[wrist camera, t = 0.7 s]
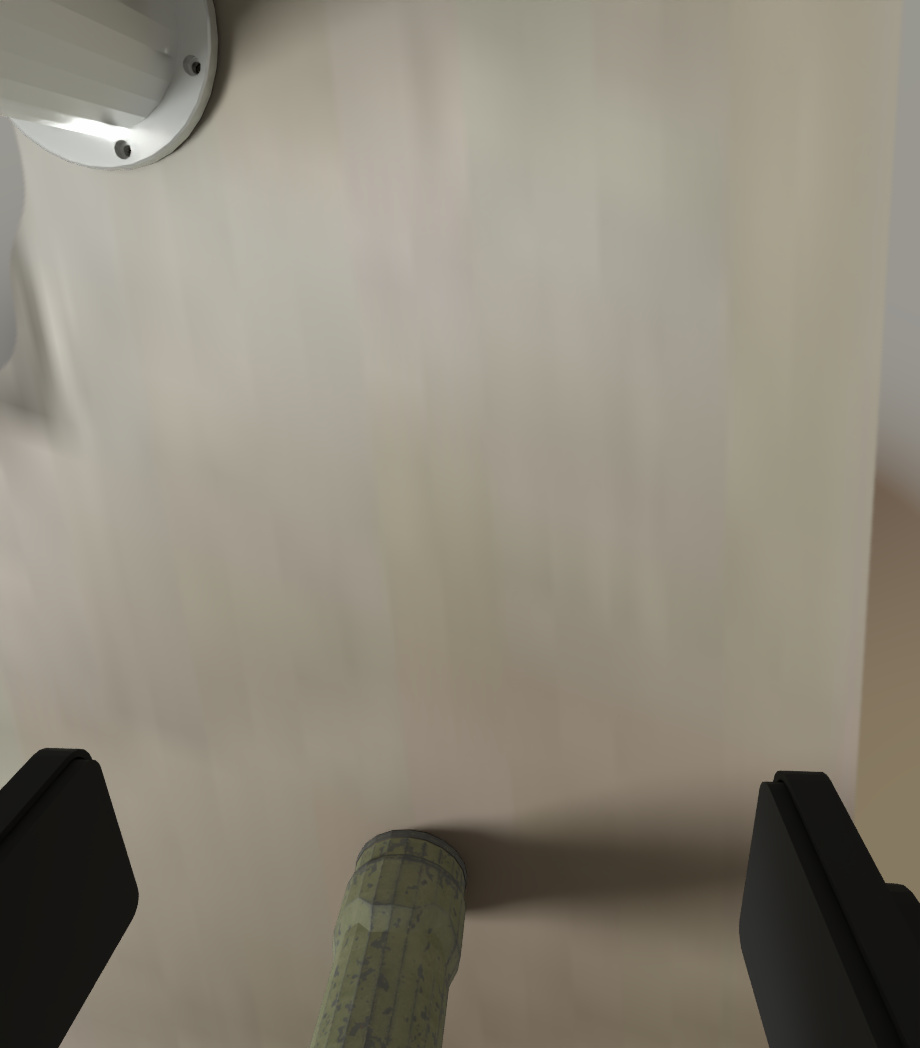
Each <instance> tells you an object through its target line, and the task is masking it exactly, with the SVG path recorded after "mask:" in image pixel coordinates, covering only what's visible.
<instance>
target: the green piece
mask: <svg viewBox="0 0 920 1048" xmlns="http://www.w3.org/2000/svg"><path fill="white" fill-rule="evenodd" d="M466 882H467V874H466V869H465V864H464V862H463V861H462V859H461V858H460V856H459V855H458V853H457V852H456V851H455V850H454V849H453V848H452V847H451V846H449V845H448V844H447V843H446V842H444V841H443V840H441V839H439V838H437V837H434V836H432V835H430V834H428V833H423V832H418V831H413V830H395V831H389V832H386V833H383V834H380V835H377V836H376V837H374V838H373V839H371V840H370V841H369V842H367V843H366V844H365V845H364V847H363V848H362V850H361V852H360V853H359V855H358V858H357V862H356V869H355V872H354V875H353V876H352V878H351V879H350V881H349V883H348V885H347V889H346V892H345V895H344V899H343V902H342V906H341V909H340V913H339V916H338V919H337V923H336V926H335V930H334V935H333V945H332V946H333V959H334V963H333V966H332V970H331V973H330V977H329V980H328V984H327V988H326V991H325V995H324V998H323V1002H322V1005H321V1009H320V1013H319V1016H318V1020H317V1023H316V1027H315V1030H314V1034H313V1038H312V1041H311V1045H310V1048H442V1041H443V1033H444V1024H445V1016H446V1007H447V999H448V991H449V986H450V984H451V982H452V980H453V978H454V976H455V975H456V973H457V971H458V966H459V962H460V957H461V948H462V939H463V930H464V920H465V911H466V904H465V900H464V892H465V888H466Z"/></svg>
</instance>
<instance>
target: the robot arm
mask: <svg viewBox="0 0 920 1048" xmlns="http://www.w3.org/2000/svg"><path fill="white" fill-rule="evenodd" d="M217 52H218V34H217V25H216V15H215V8H214V5H213V1H212V0H0V116H5V117H7V118H8V119H9V120H10V121H11V122H12V123H13V124H14V125H15V126H16V127H17V128H18V129H19V130H20V131H21V132H22V133H23V134H24V135H25V136H26V137H28V138H29V139H30V140H32V141H33V142H35V143H36V144H37V145H39V146H40V147H41V148H43V149H44V150H45V151H47V152H49V153H51V154H53V155H55V156H57V157H59V158H61V159H63V160H65V161H67V162H70V163H74V164H77V165H81V166H85V167H88V168H93V169H101V170H109V171H114V170H132V169H136V168H139V167H142V166H146V165H149V164H153V163H154V162H156V161H158V160H160V159H161V158H163V157H165V156H167V155H168V154H170V153H172V152H173V151H174V150H175V149H176V148H177V147H178V146H179V145H180V144H181V143H182V142H183V141H184V140H185V139H186V138H188V136H189V135H190V133H191V132H192V130H193V129H194V127H195V126H196V124H197V123H198V122H199V120H200V119H201V117H202V114H203V112H204V110H205V107H206V105H207V102H208V100H209V98H210V95H211V91H212V87H213V82H214V78H215V74H216V69H217ZM199 63H200V64H201V70H200V72H199V74H197V72H196V66H197V65H198V64H199ZM129 147H131V155H129V153H128V149H129ZM138 898H139V893H138V887H137V884H136V881H135V878H134V874H133V871H132V868H131V864H130V861H129V858H128V855H127V851H126V848H125V845H124V842H123V838H122V835H121V832H120V828H119V825H118V822H117V819H116V815H115V812H114V809H113V806H112V802H111V799H110V796H109V792H108V789H107V786H106V783H105V779H104V776H103V773H102V770H101V767H100V765H99V763H98V762H97V761H96V760H92V758H91V756H90V754H89V753H88V752H87V751H86V750H83V749H63V748H44V749H41V750H39V751H38V752H37V753H35V754H34V755H33V756H32V757H31V758H30V759H29V760H28V761H27V762H26V763H25V765H24V766H23V767H22V768H21V769H20V770H19V771H18V772H17V773H16V774H15V775H14V776H13V777H12V778H11V779H10V780H9V782H8V783H7V784H6V785H5V786H4V787H3V788H2V789H1V790H0V1048H58V1047H59V1046H60V1044H61V1042H62V1040H63V1039H64V1037H65V1035H66V1033H67V1032H68V1030H69V1028H70V1026H71V1025H72V1023H73V1021H74V1020H75V1018H76V1016H77V1014H78V1013H79V1011H80V1009H81V1007H82V1006H83V1004H84V1002H85V1000H86V999H87V997H88V995H89V994H90V992H91V990H92V988H93V987H94V985H95V983H96V981H97V980H98V978H99V976H100V974H101V973H102V971H103V969H104V968H105V966H106V964H107V962H108V961H109V959H110V957H111V955H112V954H113V952H114V950H115V948H116V947H117V945H118V943H119V942H120V940H121V938H122V936H123V935H124V933H125V931H126V929H127V928H128V926H129V924H130V923H131V921H132V919H133V917H134V915H135V912H136V909H137V905H138ZM739 934H740V943H741V949H742V953H743V957H744V960H745V964H746V967H747V971H748V974H749V978H750V981H751V985H752V988H753V992H754V995H755V999H756V1002H757V1006H758V1009H759V1013H760V1016H761V1020H762V1023H763V1027H764V1030H765V1034H766V1037H767V1041H768V1044H769V1048H920V903H919V902H918V900H917V899H916V897H915V896H914V894H913V893H912V892H911V891H910V890H909V889H908V888H906V887H905V886H904V885H900V884H894V883H893V884H892V883H885V882H884V880H883V878H882V876H881V874H880V872H879V871H878V869H877V867H876V865H875V863H874V861H873V859H872V857H871V855H870V853H869V852H868V850H867V848H866V846H865V844H864V842H863V840H862V839H861V837H860V835H859V833H858V831H857V829H856V827H855V825H854V823H853V822H852V820H851V818H850V816H849V814H848V812H847V810H846V808H845V807H844V805H843V803H842V801H841V799H840V797H839V795H838V793H837V792H836V790H835V788H834V786H833V784H832V782H831V780H830V779H829V777H828V776H827V775H826V774H825V773H823V772H806V771H777V772H776V774H775V776H774V780H773V782H762V783H761V785H760V789H759V796H758V802H757V809H756V816H755V822H754V829H753V835H752V842H751V848H750V855H749V862H748V868H747V875H746V881H745V888H744V895H743V901H742V908H741V914H740V922H739Z"/></svg>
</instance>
